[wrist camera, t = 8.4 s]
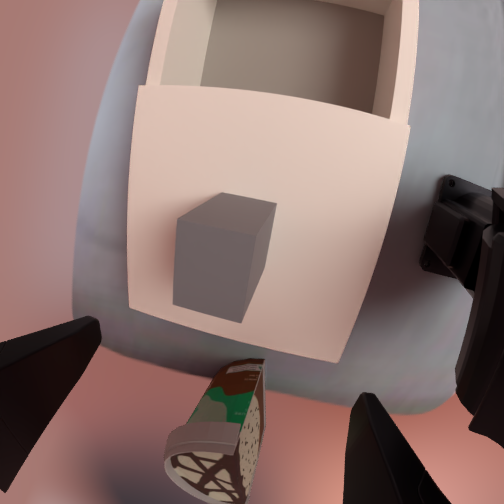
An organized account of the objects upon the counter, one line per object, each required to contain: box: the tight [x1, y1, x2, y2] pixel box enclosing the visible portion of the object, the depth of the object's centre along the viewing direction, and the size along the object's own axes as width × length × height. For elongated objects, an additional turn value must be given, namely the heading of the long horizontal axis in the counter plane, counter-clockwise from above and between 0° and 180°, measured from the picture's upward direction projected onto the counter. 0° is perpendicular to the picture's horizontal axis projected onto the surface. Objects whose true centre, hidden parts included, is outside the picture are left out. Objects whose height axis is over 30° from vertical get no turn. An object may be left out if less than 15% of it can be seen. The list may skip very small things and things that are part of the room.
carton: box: [146, 0, 419, 125], centre depth 13 cm, size 12×12×6 cm
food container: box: [164, 359, 266, 504], centre depth 21 cm, size 12×6×10 cm, turn 3°
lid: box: [127, 85, 411, 363], centre depth 11 cm, size 12×12×5 cm
